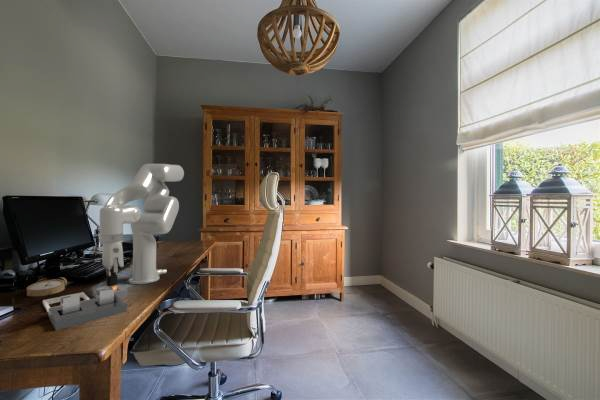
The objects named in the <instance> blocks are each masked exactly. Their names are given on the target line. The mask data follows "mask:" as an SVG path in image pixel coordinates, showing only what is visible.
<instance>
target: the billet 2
mask: <svg viewBox="0 0 600 400" xmlns="http://www.w3.org/2000/svg"><path fill="white" fill-rule="evenodd" d="M96 290H97V297H96V305H97V306H98V307H99V306H103V305H107V304H111V303H114V289H113V288H112V287H107V286H105V287H102V288H101V287H99V288H96Z"/></svg>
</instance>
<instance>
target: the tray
mask: <svg viewBox="0 0 600 400" xmlns="http://www.w3.org/2000/svg"><path fill="white" fill-rule="evenodd" d="M77 294H78V295H79V296H80V299H81V298H82V299H84V300H83V301H85V300H89V299H90V297H89V296H88V295H87V294H86V293H85V292H84V291H82V292H78V293H77ZM56 303H61V296H58V297H53V298H48V299H42V305H43V307H44V309H45V310H46V312H47V313H49V308H53V307H54V306H53V307H51V306H50V305H53V304H56Z"/></svg>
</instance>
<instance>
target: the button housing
mask: <svg viewBox="0 0 600 400" xmlns="http://www.w3.org/2000/svg"><path fill="white" fill-rule="evenodd" d="M116 286H117V291H114V294H115V295H116V296H117V297H118V298H120V299H122V298H126V297H128V296H129V290H128V288H126V287H124V286H123V285H122V284H117V285H116ZM96 297H97V289H94V290H93V299H94V298H96Z"/></svg>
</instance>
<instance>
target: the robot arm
mask: <svg viewBox="0 0 600 400" xmlns="http://www.w3.org/2000/svg"><path fill="white" fill-rule="evenodd" d="M184 176H185V171H184V169H183V167H182V166H181V165H179V164H169V163H145V164H143V165H142V166H140V168H139V170H138V172H136V175H135V176H134V177H133V179H132V181H131V182H130V184H129V185H127V186H125V187H124V188H121V189H120V190H118V191H117V192H115V193H114V194H112V195H111V196H110V197H109V198H108V200H107V201H106V202H105V204H104V205H103V207H101V208H100V210H99V244H101V245H102V251H101V252H102V253H101V259H102V260H101V262H102V266H103V267H105V269H106V270H105V271H106V287H107V286H113V285H116V286H117V285H118V273H119V268H118V267H120V268H123V267H124V266H125V265H124V250H123V242H124V224H130V229H131V234H132V277H130V278H129V279H128V283H129V284H131V285H146V284H150V283H155V282H158V281H159V280H160V278H161V277H160V276H161V275H162V274H167V272H168V271H167V268H165V269H162V268H161V269H158V268H157V241H156V240H157V239H156V238H155V237H154V235H156V234H157V235H164V234H168V233H169V232H170V231H171V229H172V228H173V225H174V224H175V220H176V218H177V215H178V212H179V210H180V209H179V208H180V203H179V200H178V198H177V197H174V196H172V195H171V196H170V195H169V194H170V190H169V188H168V186H167V185H166V183H165V182H169V183H170V182H174V183H175V182H180V181H182V180H183V178H184ZM145 197H146V199H145V201H144V204H143V206H142V209H143V213H142V211H141V209H140V208H139V207H138V206H135V205H127V204H128V203H130V202H134V201H136V200H140V199H143V198H145Z"/></svg>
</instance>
